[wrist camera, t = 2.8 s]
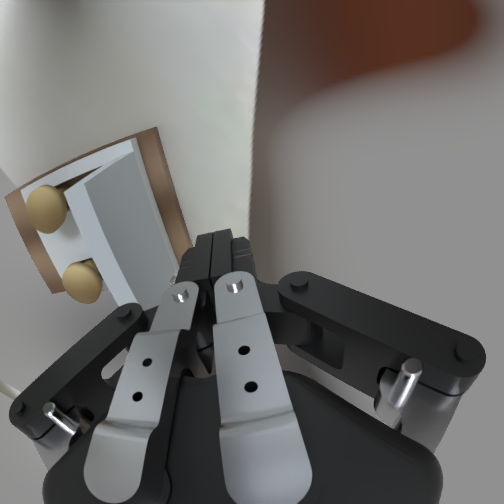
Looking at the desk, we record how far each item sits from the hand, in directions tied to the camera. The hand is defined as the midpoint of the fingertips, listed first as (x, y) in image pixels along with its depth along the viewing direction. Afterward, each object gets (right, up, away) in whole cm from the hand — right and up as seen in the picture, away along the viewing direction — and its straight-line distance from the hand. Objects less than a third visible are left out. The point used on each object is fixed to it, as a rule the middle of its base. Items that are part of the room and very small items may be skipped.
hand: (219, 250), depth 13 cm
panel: (-11, +2, +7) cm, 13 cm away
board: (-11, +3, +8) cm, 14 cm away
